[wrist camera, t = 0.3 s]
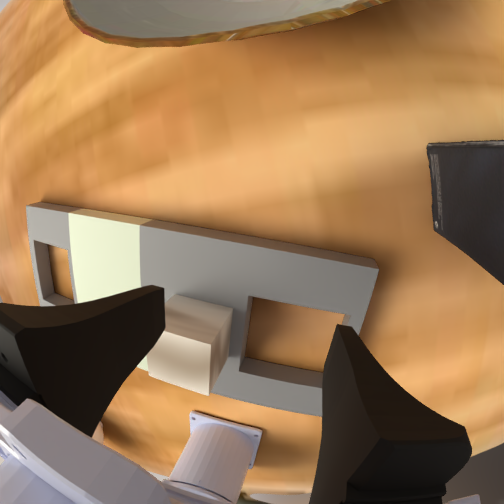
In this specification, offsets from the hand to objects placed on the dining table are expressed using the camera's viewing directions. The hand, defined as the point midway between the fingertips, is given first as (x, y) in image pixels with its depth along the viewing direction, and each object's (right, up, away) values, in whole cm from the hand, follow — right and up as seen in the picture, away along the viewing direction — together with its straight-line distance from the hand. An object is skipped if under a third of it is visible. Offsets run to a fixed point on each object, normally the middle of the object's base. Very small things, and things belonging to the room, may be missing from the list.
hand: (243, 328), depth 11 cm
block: (-3, -3, +10) cm, 11 cm away
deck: (-8, -1, +13) cm, 15 cm away
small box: (+17, +8, +4) cm, 19 cm away
